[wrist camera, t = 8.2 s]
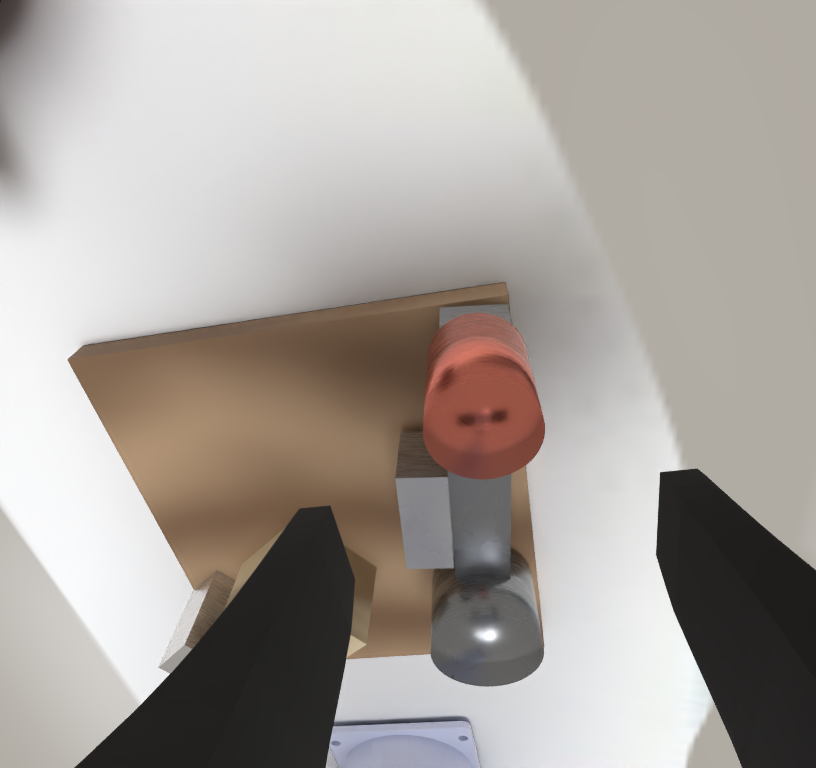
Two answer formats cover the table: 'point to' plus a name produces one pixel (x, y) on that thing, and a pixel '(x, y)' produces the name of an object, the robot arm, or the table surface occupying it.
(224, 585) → the brown grey rectangular block
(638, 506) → the table surface
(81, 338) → the table surface
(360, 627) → the tan cube
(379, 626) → the board
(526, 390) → the lever
